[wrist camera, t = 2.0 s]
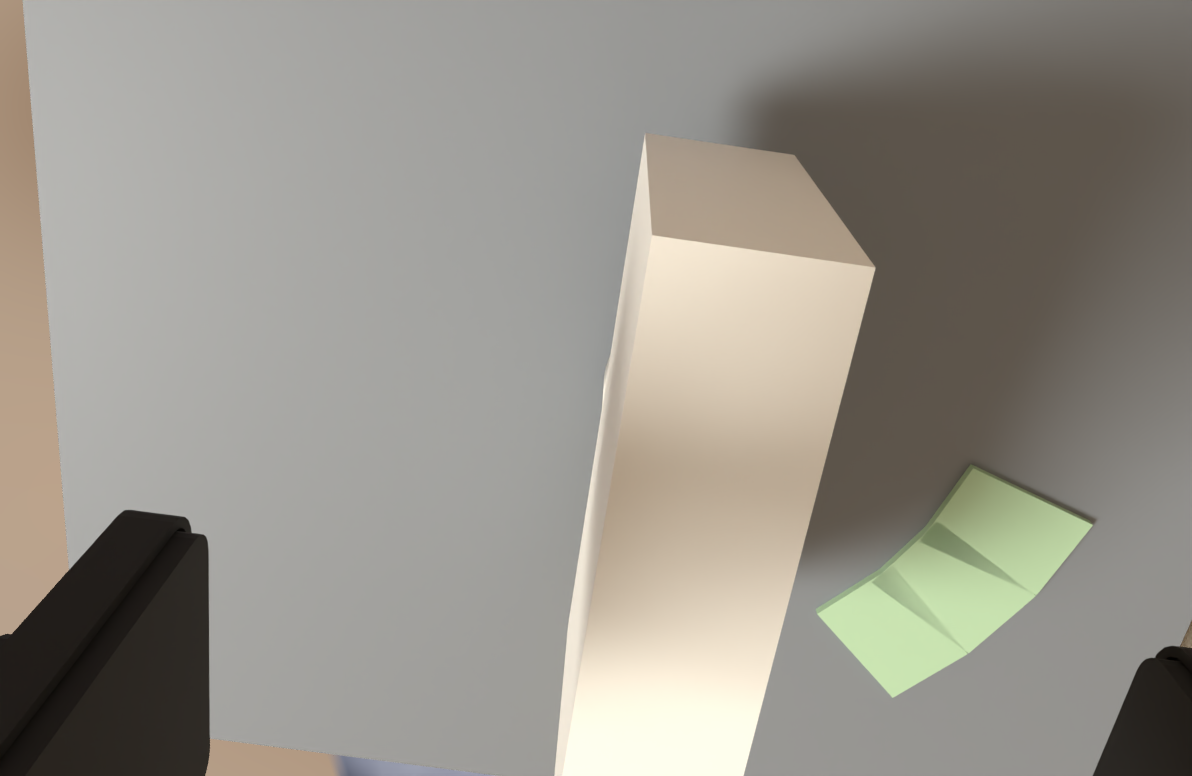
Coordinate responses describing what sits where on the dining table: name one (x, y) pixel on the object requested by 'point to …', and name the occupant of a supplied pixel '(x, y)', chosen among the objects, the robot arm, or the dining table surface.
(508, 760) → the slate dial board
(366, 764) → the dining table surface
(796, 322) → the white ice pop
